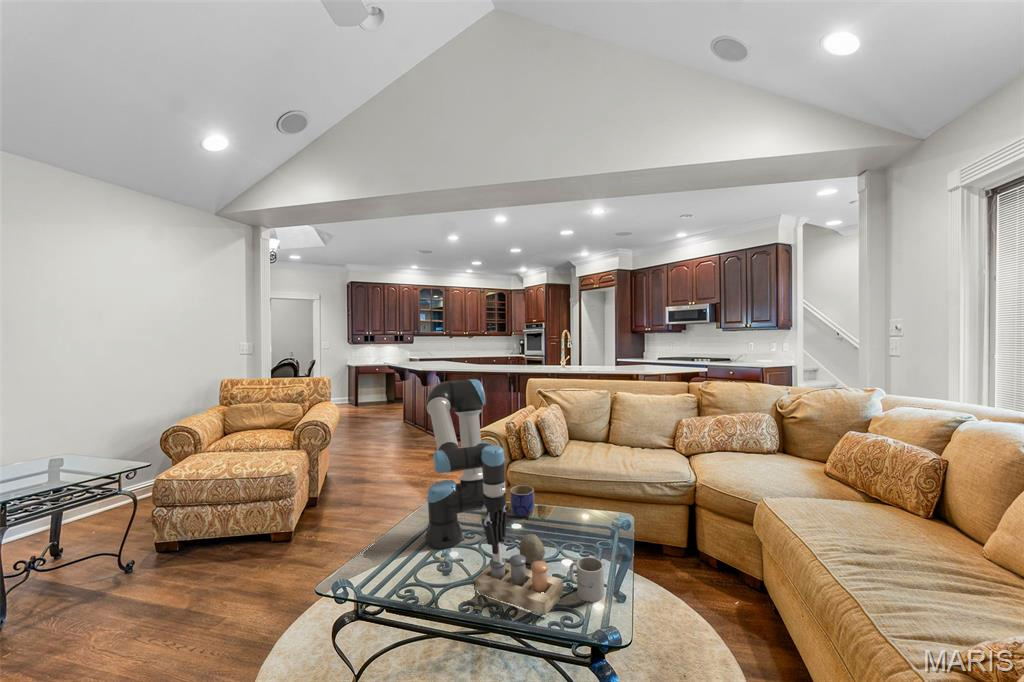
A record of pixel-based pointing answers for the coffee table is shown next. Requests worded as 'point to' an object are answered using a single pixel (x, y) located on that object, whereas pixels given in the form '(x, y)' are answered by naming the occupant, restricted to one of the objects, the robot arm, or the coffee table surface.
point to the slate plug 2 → (518, 569)
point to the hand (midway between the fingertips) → (497, 560)
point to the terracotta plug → (539, 575)
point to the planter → (522, 500)
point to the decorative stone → (532, 548)
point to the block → (520, 590)
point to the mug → (589, 578)
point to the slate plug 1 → (497, 569)
